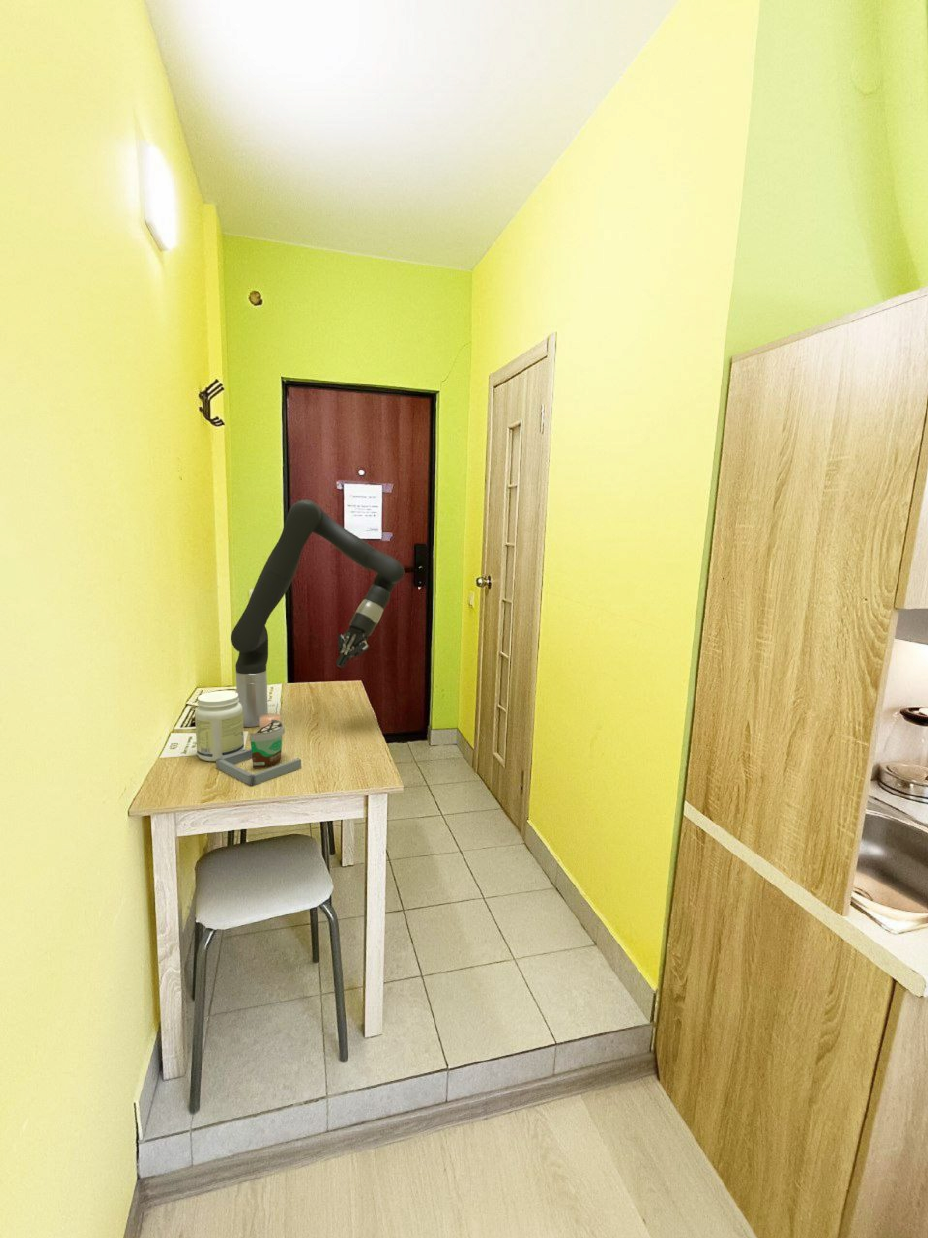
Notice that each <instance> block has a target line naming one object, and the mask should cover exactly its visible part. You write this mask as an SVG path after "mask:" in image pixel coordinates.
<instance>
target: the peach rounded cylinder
mask: <svg viewBox="0 0 928 1238" xmlns="http://www.w3.org/2000/svg"><path fill="white" fill-rule="evenodd" d="M271 719H274V720H278V721H281V722H282V715H281V714H279V713H268V714H265V715H262V716H260V726H259V730H260V729H261V728H262V727H265V726H267V725H269V724H270V723H271Z"/></svg>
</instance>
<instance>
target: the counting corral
mask: <svg viewBox="0 0 928 1238" xmlns="http://www.w3.org/2000/svg"><path fill="white" fill-rule="evenodd" d="M250 759H252V750H251V748H248V749H245V750H244V749H243V751H241V752H238V753H235V754H232V755H228V756H225V757H222V758H219V759H216V761H215V766H216V769H218V771H219V770H220V771H221V772H223V773H226V774H227V775H229V776H231V777H233V778H235V779H236V780H239V781H241V782H242V783H244V784H245V785H248V786H249V787H254V786H256V785H259V784H261V783H264V782H267V781H271V780H272V779H275V778H278V777H281V776H282V775H283V776H284V775H285V774H288V773H291V772H293V771H297V770H299V769H302V759H301V758H294V759H292V760H289V761H286V762H284V763H281V764H278V765H274V766H271V767H268V768H266V769H264V770H261V771H258V772H255V773H251V772H249V771H248V770H246V769H243V768H240V767H239V766H237V765H235V764H239V763H242V762H245V761H248V760H250Z"/></svg>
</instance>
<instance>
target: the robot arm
mask: <svg viewBox="0 0 928 1238" xmlns="http://www.w3.org/2000/svg"><path fill="white" fill-rule="evenodd" d="M313 533H315V534H316V535H318V536H320V537H322V538H323V539H325V540H326V541H327V542H329V543H330V544H332V545H333V546H334V547H335V548H336V549H338V550H339V551H340V552H341V553H342V554H343V555H345V556H346V557H347V558H349V560H350V559H351V560H352V561H353V562H354V563H356V564H358V565H359V566H360V567H362V568H364V569H366V570H371V571H373V572H375V573H376V574H375V577H374V580H373V582H372V584H371V586H370V588H369V590H368V592H367V593H366V595H365V597H364V599H363V600H362V602H360V604H359V605H358V607H357V609H356V611H355V613H354V614H353V617H352V618H351V619H350V621H349V623H348V625H349V627H348V629H347V630H346V632H345V633H343V634H341V633H339V634H338V635H337V651H338V652H340V655H339V656H338V658H337V660H336V661H335V665H336V666H337V667H339V668H341V669H344V668H345V667H346V665H347V663H348V661H349V660H350V659H351V658H357V657H358V656H360V655H362V654H363V653H364V652H366V651H367V650H368V649H370V646H369V644H368V643H367V641H368V638H369V637H370V636H372V633H373V632H374V630H375V628H376V626H377V624H378V623H379V621H380V619H381V617H382V615H383V612H384V611H385V608H386V606H387V605H388V603H389V601H390V598H391V593H392V592H393V590H394V588H395V586H396V584H398V583H399V582H400V581H402V580H403V578H404V577H405V573H406V572H405V567H404V566H403V564H402V563H401V562H400V561H399V560H397V559H395V558H394V557H392V556H390V555H388V554H386V553H384V552H381V551H379V550H377V549H376V548H375V547H373V546H372V545H370V544H369V543H368V542H366V541H365V540H363V539H362V538H360V537H358V536H357V535H355V534H354V533H352V532H351V531H349V530H348V529H346V528H345V527H343V526H342V525H340V524H339V523H337V522H336V521H335V520H334V519H333V518H332V517H331V516H329V515H328V514H327V513H326V512H325V511H324V510H323V509H322V508H321V507H320V506H319V505H318V503H316V502H314V501H313V500H311V499H301V500H300V499H299V500H297V501H295V502H294V503H293V504H292V505H291V506H290V508H289V510H288V514H287V516H286V520H285V523H284V527H283V528H282V532H281V534H280V537H279V539H278V540H277V543H275V546H274V547H273V549H272V550H271V552H270V554H269V556H268V558H267V560H266V561H265V564H264V565H263V568H262V569H261V571H260V574H259V576H258V579H257V580H256V582H255V586H254V588H253V590H252V593H251V594H250V598H249V601H248V603H247V605H246V606H245V608H244V610H243V613H242V614H241V616H240V618H239V619H238V621H237V623H235V625H234V627H233V629H232V631H231V633H230V643H231V645H232V646H233V649H235V650H236V651H237V652H238V655H237V656H238V657H237V660H236V661H235V665H234V667H235V685H236V686H235V689H236V693H238V698H239V701H238V702H239V703H240V704H241V705H242V709H243V710H242V711H243V728H255V727H260V716H262V715H265V714H269V710H268V709H269V707H268V683H267V682H268V681H267V675H268V674H267V663H268V659H269V635H268V634H269V632H268V630H267V628H266V623H268V619H269V618H270V615H271V614H272V613H273V611H275V608H277V607H278V605H279V603H280V602H281V601H282V599H283V598H284V596H285V595H286V593H287V592H288V590H289V587H290V586H291V583H292V581H293V579H294V578H295V574H296V572H297V569H298V566H299V562H300V558H301V556H302V552H303V549H304V547H305V545H306V544H307V542H308V540H309V538H310V537H311V535H312V534H313Z"/></svg>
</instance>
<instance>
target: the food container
mask: <svg viewBox="0 0 928 1238" xmlns="http://www.w3.org/2000/svg"><path fill="white" fill-rule="evenodd" d="M285 732H286V729H285V726H284V723H283V722H282V720H281V721H278V720H274V719H271V723H270V724H269V725H267V726H265V727H262V728H261V729H260V728H259V730H258V731H257V732H255V733H253V732H250V733H249V740H248V741H249V742H250V747H251V750H252V758H251V759H252V768H254V769H262V768H263V769H264V768H271V767H275V766H277V764H278V765H279V763H281V761H282V751H283V749H282V747H283V735H284V734H285Z"/></svg>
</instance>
